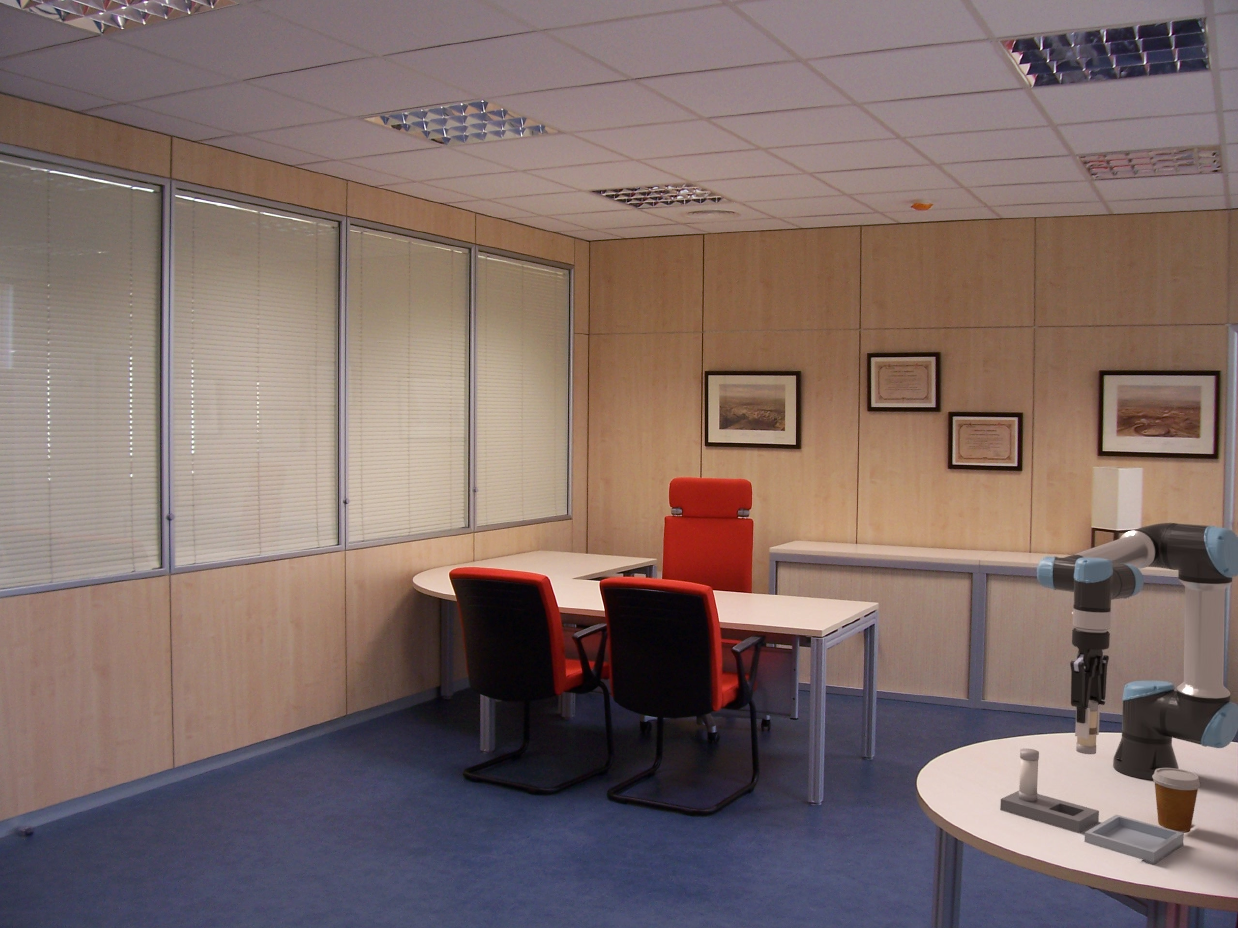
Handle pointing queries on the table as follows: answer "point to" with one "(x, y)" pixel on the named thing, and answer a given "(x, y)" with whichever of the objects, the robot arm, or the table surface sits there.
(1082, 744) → the fuse
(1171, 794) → the disposable coffee cup
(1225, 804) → the table surface
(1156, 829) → the parts tray
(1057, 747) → the table surface
